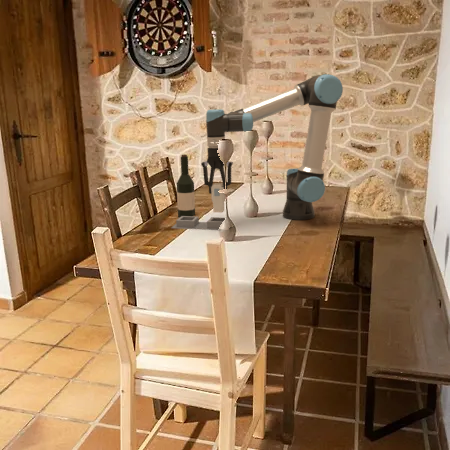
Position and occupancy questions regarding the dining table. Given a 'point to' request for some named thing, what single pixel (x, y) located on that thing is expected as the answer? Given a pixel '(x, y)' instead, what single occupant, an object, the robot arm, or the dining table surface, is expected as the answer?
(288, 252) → the dining table surface
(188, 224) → the grey holder tray
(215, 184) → the cream box
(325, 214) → the dining table surface
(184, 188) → the wine bottle
